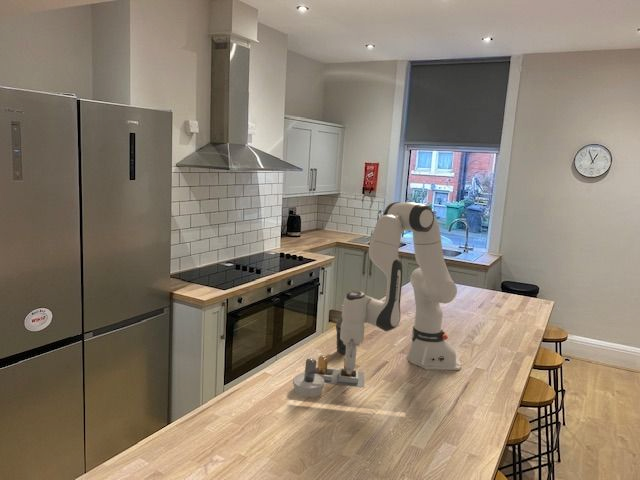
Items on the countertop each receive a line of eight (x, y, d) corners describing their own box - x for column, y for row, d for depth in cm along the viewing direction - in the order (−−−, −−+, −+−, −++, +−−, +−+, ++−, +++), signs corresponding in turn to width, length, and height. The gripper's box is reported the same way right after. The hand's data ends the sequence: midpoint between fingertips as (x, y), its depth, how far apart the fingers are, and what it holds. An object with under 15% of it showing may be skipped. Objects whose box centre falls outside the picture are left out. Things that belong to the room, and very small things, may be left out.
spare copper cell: (326, 373, 180) (328, 354, 179) (326, 377, 176) (327, 358, 175) (317, 372, 180) (318, 354, 179) (316, 376, 177) (318, 358, 175)
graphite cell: (315, 381, 165) (318, 361, 164) (306, 382, 163) (309, 361, 162) (311, 376, 168) (313, 356, 167) (302, 377, 166) (304, 357, 165)
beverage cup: (349, 356, 199) (353, 311, 196) (332, 354, 201) (336, 309, 197) (351, 350, 206) (355, 306, 203) (335, 347, 208) (338, 304, 204)
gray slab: (363, 375, 183) (364, 367, 183) (364, 390, 172) (364, 382, 171) (307, 369, 185) (308, 361, 184) (304, 384, 173) (304, 375, 172)
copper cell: (347, 374, 180) (347, 355, 179) (354, 377, 178) (355, 357, 177) (341, 377, 177) (342, 358, 177) (349, 380, 175) (349, 360, 174)
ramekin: (300, 404, 159) (301, 390, 158) (287, 389, 169) (287, 375, 168) (329, 398, 164) (330, 384, 163) (314, 383, 174) (315, 370, 173)
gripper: (360, 346, 164) (357, 383, 167) (360, 326, 184) (357, 359, 187) (342, 345, 165) (339, 381, 167) (344, 324, 185) (341, 357, 187)
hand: (349, 369), depth 177 cm, fingers open, 5 cm apart
